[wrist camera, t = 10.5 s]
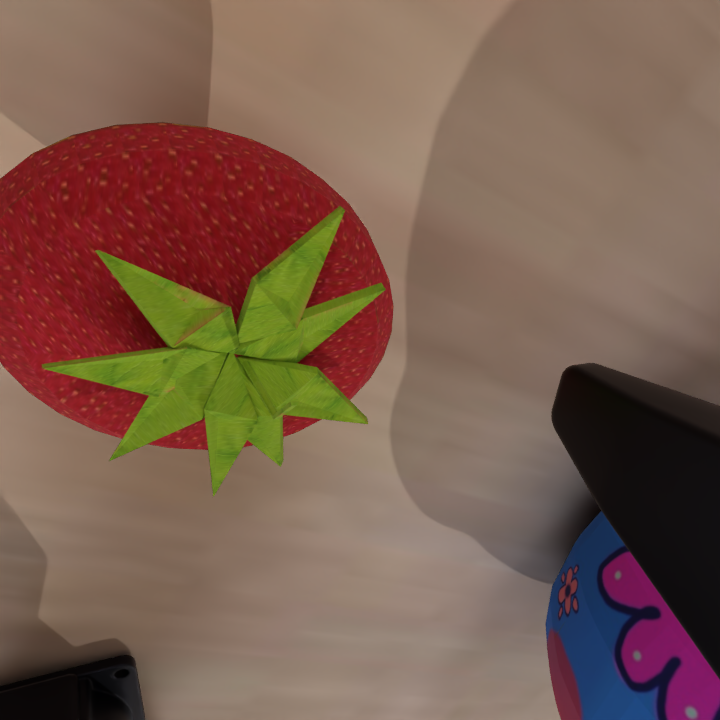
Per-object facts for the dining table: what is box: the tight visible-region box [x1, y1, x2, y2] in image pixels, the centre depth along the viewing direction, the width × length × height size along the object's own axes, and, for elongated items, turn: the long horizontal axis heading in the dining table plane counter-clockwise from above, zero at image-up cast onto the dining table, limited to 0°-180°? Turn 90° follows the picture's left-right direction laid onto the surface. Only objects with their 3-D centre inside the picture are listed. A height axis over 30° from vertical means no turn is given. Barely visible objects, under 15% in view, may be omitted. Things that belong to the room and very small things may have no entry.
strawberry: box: [0, 122, 393, 497], centre depth 12 cm, size 6×8×10 cm
